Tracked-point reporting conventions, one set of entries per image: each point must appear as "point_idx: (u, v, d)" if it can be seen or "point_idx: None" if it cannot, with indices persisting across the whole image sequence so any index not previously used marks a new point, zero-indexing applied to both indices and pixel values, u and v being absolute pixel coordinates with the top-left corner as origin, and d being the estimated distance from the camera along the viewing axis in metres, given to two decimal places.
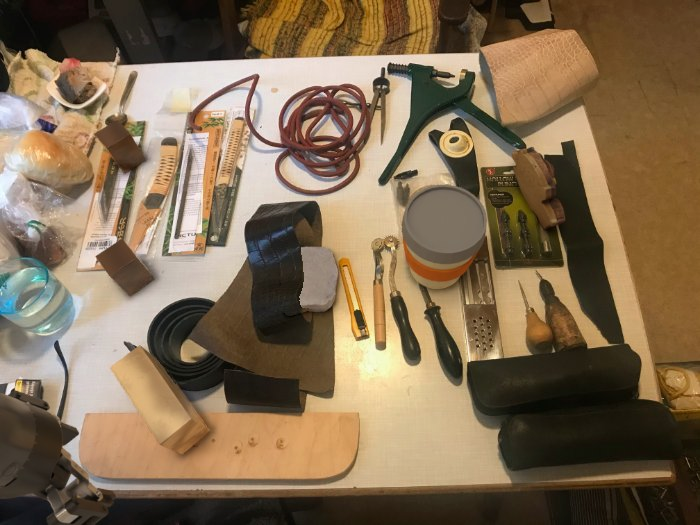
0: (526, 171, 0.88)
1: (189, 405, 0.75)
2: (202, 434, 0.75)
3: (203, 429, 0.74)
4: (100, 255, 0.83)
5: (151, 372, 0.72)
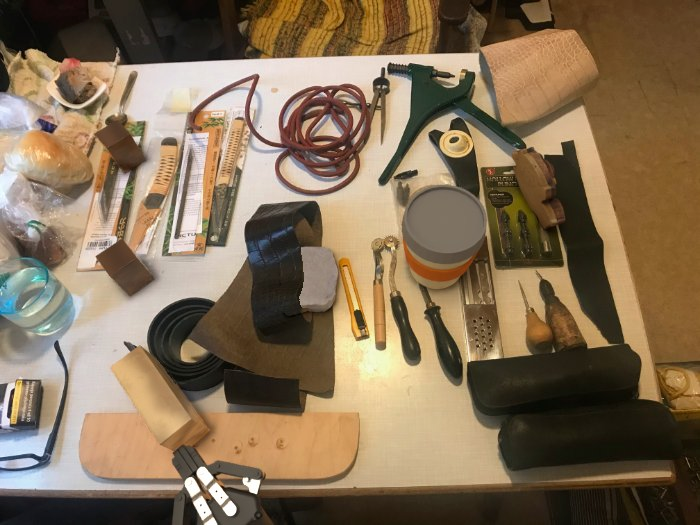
0: (526, 171, 0.88)
1: (189, 405, 0.75)
2: (202, 434, 0.75)
3: (203, 429, 0.74)
4: (100, 255, 0.83)
5: (151, 372, 0.72)
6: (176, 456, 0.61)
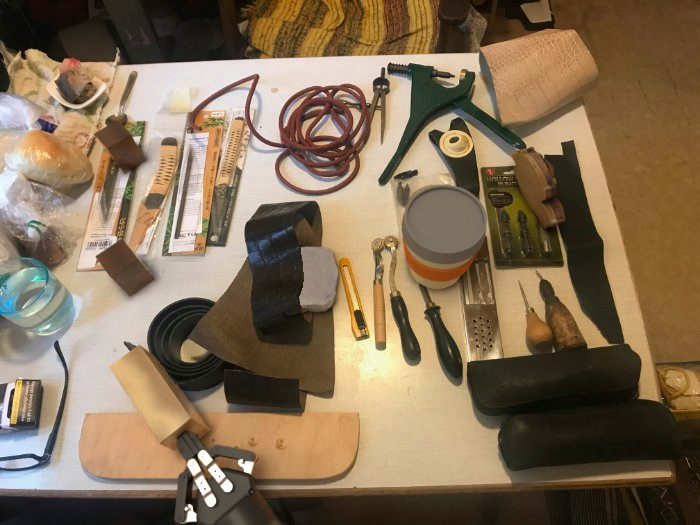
0: (526, 171, 0.88)
1: (189, 404, 0.75)
2: (201, 433, 0.75)
3: (203, 428, 0.74)
4: (100, 255, 0.83)
5: (150, 372, 0.72)
6: (180, 440, 0.69)
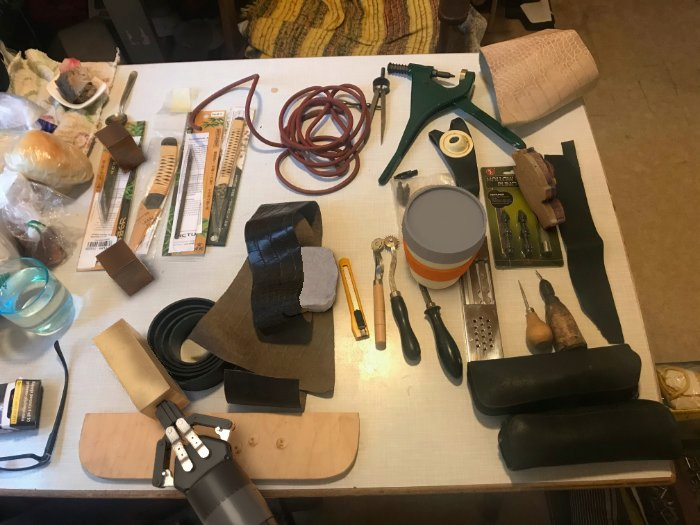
0: (526, 171, 0.88)
1: (170, 377, 0.78)
2: (182, 405, 0.77)
3: (183, 400, 0.76)
4: (100, 255, 0.83)
5: (132, 344, 0.74)
6: (159, 409, 0.71)
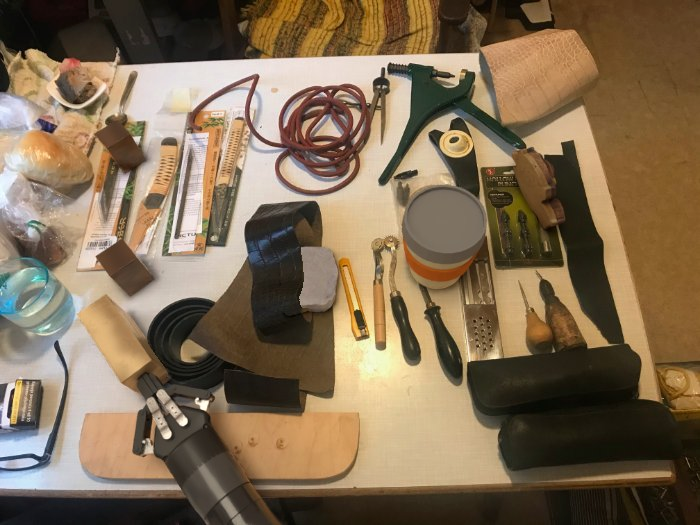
0: (526, 171, 0.88)
1: (153, 352, 0.80)
2: (165, 379, 0.79)
3: (165, 373, 0.78)
4: (100, 255, 0.83)
5: (115, 318, 0.76)
6: (140, 381, 0.73)
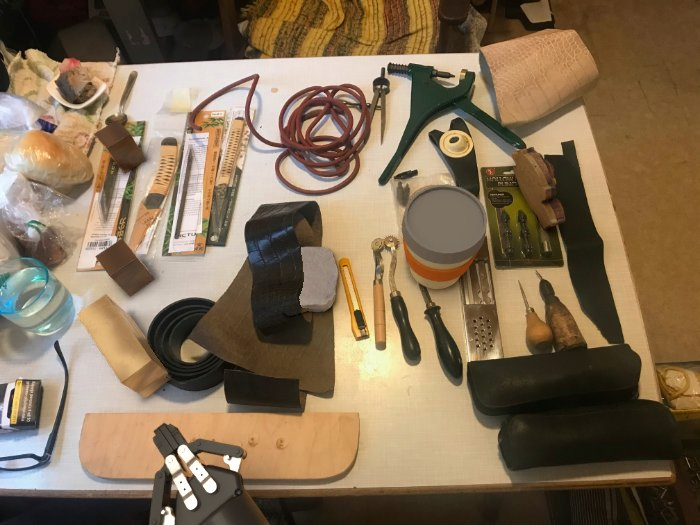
0: (526, 171, 0.88)
1: (153, 352, 0.80)
2: (165, 379, 0.79)
3: (165, 374, 0.78)
4: (100, 255, 0.83)
5: (115, 318, 0.76)
6: (157, 434, 0.60)
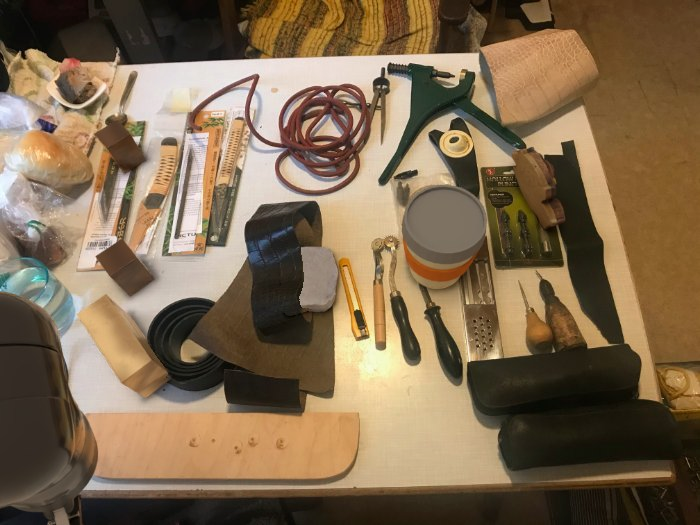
0: (526, 171, 0.88)
1: (153, 352, 0.80)
2: (165, 379, 0.79)
3: (165, 374, 0.78)
4: (100, 255, 0.83)
5: (115, 318, 0.76)
6: None
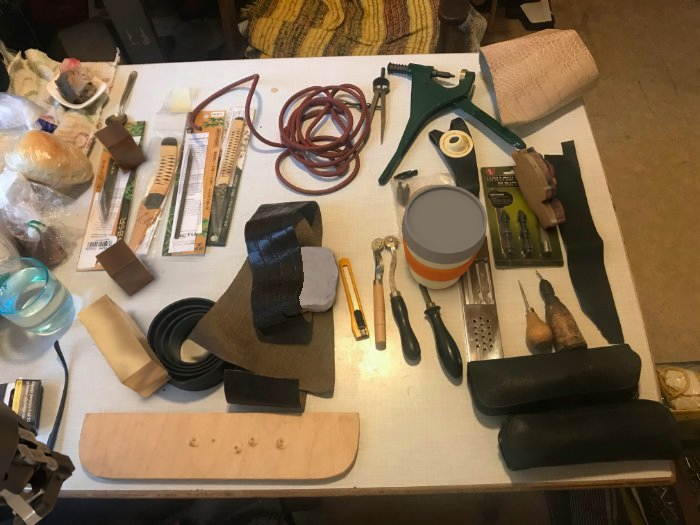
0: (526, 171, 0.88)
1: (153, 352, 0.80)
2: (165, 379, 0.79)
3: (165, 374, 0.78)
4: (100, 255, 0.83)
5: (115, 318, 0.76)
6: None
